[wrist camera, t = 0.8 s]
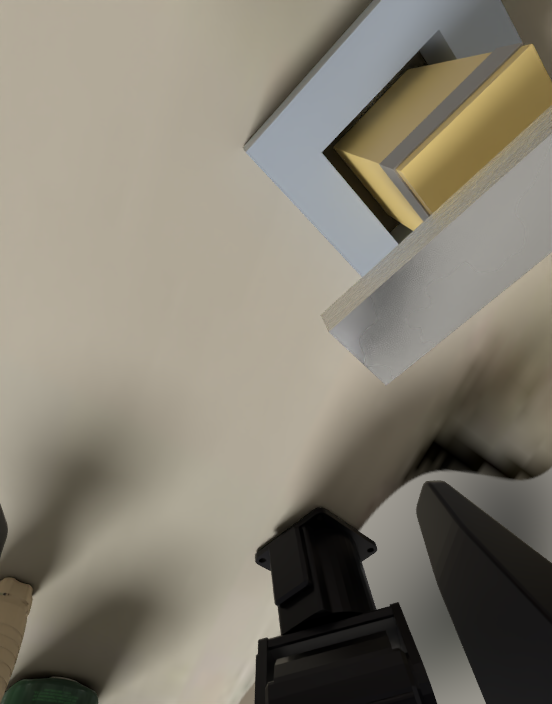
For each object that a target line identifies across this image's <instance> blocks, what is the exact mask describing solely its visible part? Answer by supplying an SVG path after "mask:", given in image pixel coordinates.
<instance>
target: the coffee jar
mask: <svg viewBox="0 0 552 704" xmlns="http://www.w3.org/2000/svg"><path fill="white" fill-rule="evenodd" d="M0 704H98V697H97V694H96V692H95V691H93V690H91V689H89V688H87V687H86V686H84V685H82V684H80V683H78V682H77V681H75V680H72V679H68V678H64V677H51V678H45V679H44V678H42V679H23V680H21V681H18V682H17V683H15V684H14V685H13V686H11V687H10V688H9V689H8V690H7V691H6V692H5V693H4V696H3V698H2V700H1V703H0Z"/></svg>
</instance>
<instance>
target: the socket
mask: <svg viewBox="0 0 552 704" xmlns="http://www.w3.org/2000/svg"><path fill="white" fill-rule="evenodd" d="M517 43H522V40H521V38H520V36H519V34H518V33H517V31H516V29H515V27H514V25H513V23H512V21H511V19H510V17H509V15H508V13H507V11H506V9H505V7H504V5H503V4H502V2H501V0H373V1H372V2H371V3H370V4H369V5H368V6H367V8H366V9H365V10H364V11H363V12H362V13H361V14H360V15H359V17H358V18H357V19H356V20H355V21H354V22H353V23H352V25H351V26H350V27H349V28H348V29H347V30H346V31H345V32H344V34H343V35H342V36H341V37H340V38H339V39H338V40H337V41H336V43H335V44H334V45H333V46H332V47H331V48H330V49H329V50H328V52H327V53H326V54H325V55H324V56H323V57H322V58H321V60H320V61H319V62H318V63H317V64H316V65H315V66H314V67H313V69H312V70H311V71H310V72H309V73H308V74H307V75H306V76H305V78H304V79H303V80H302V81H301V82H300V83H299V84H298V86H297V87H296V88H295V89H294V90H293V91H292V92H291V93H290V95H289V96H288V97H287V98H286V99H285V100H284V101H283V102H282V104H281V105H280V106H279V107H278V108H277V109H276V110H275V112H274V113H273V114H272V115H271V116H270V117H269V118H268V119H267V121H266V122H265V123H264V124H263V125H262V126H261V127H260V128H259V130H258V131H257V132H256V133H255V134H254V135H253V136H252V137H251V139H250V140H249V141H248V142H247V143H246V144H245V145H244V147H243V148H244V150H245V152H246V153H247V154H248V155H249V156H250V157H251V158H252V160H253V161H254V162H255V163H256V164H257V165H258V166H259V167H260V168H261V169H262V170H263V171H264V172H265V173H266V175H267V176H268V177H269V178H270V179H271V180H272V181H273V182H274V183H275V184H276V185H277V186H278V187H279V188H280V190H281V191H282V192H283V193H284V194H285V195H286V196H287V197H288V198H289V199H290V200H291V201H292V202H293V204H294V205H295V206H296V207H297V208H298V209H299V210H300V211H301V212H302V213H303V214H304V215H305V216H306V217H307V219H308V220H309V221H310V222H311V223H312V224H313V225H314V226H315V227H316V228H317V229H318V230H319V231H320V232H321V234H322V235H323V236H324V237H325V238H326V239H327V240H328V241H329V242H330V243H331V244H332V245H333V246H334V247H335V249H336V250H337V251H338V252H339V253H340V254H341V255H342V256H343V257H344V258H345V259H346V260H347V261H348V263H349V264H350V265H351V266H352V267H353V268H354V269H355V270H356V271H357V272H358V273H359V274H360V275H361V276H362V277H363V276H364V275H365V274H367V273H368V272H369V271H370V270H371V269H372V268H373V267H374V266H375V265H376V264H377V263H379V262H380V261H381V260H382V259H383V258H384V257H385V256H386V255H387V254H388V253H390V252H391V251H392V250H393V249H394V248H395V247H396V246H397V245H398V244H399V243H401V242H402V241H403V240H404V239H405V238H406V237H407V236H408V235H409V234H410V233H412V232H413V230H411V229H409V228H408V227H406V226H405V225H403V224H402V223H400V224H399V225H397V226H396V227H395V228H394V229H393V230H392V231H391V232H390V233H389V232H388V231H387V230H386V229H385V228H384V226H383V225H382V224H381V223H380V222H379V220H378V219H377V218H376V217H375V216H374V214H373V213H372V212H371V211H370V210H369V208H368V207H367V206H366V205H365V204H364V202H363V201H362V200H361V199H360V198H359V197H358V195H357V194H356V193H355V192H354V191H353V189H352V188H351V187H350V186H349V185H348V183H347V182H346V181H345V180H344V179H343V177H342V176H341V175H340V174H339V173H338V171H337V170H336V169H335V168H334V167H333V166H332V164H331V163H330V162H329V161H328V160H327V158H326V157H325V156H324V155H323V154H322V151H323V150H324V149H325V148H326V147H327V146H328V145H329V144H330V143H331V142H332V141H333V140H334V139H335V138H336V137H337V136H338V135H339V134H340V133H341V131H342V130H343V129H344V128H345V127H346V126H347V125H348V124H349V123H350V122H351V121H352V120H353V119H354V118H355V117H356V116H357V115H358V114H359V113H360V112H361V111H362V109H363V108H364V107H365V106H366V105H367V104H368V103H369V102H370V101H371V100H372V99H373V98H374V97H375V96H376V95H377V94H378V93H379V92H380V91H381V90H382V88H383V87H384V86H385V85H386V84H387V83H388V82H389V81H390V80H391V79H392V78H393V77H394V76H395V75H396V74H397V73H398V72H399V71H400V70H401V69H402V67H403V66H404V65H405V64H406V63H407V62H408V61H409V60H410V59H411V58H412V57H413V56H414V55H415V54H416V53H417V52H418V51H420V53H421V54H422V56H423V57H424V59H425V60H426V62H427V64H428V65H432V64H437V63H441V62H446V61H451V60H456V59H461V58H466V57H470V56H475V55H480V54H485V53H490V52H493V51H494V50H495V49H496V48H499V47H504V46H508V45H513V44H517Z"/></svg>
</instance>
